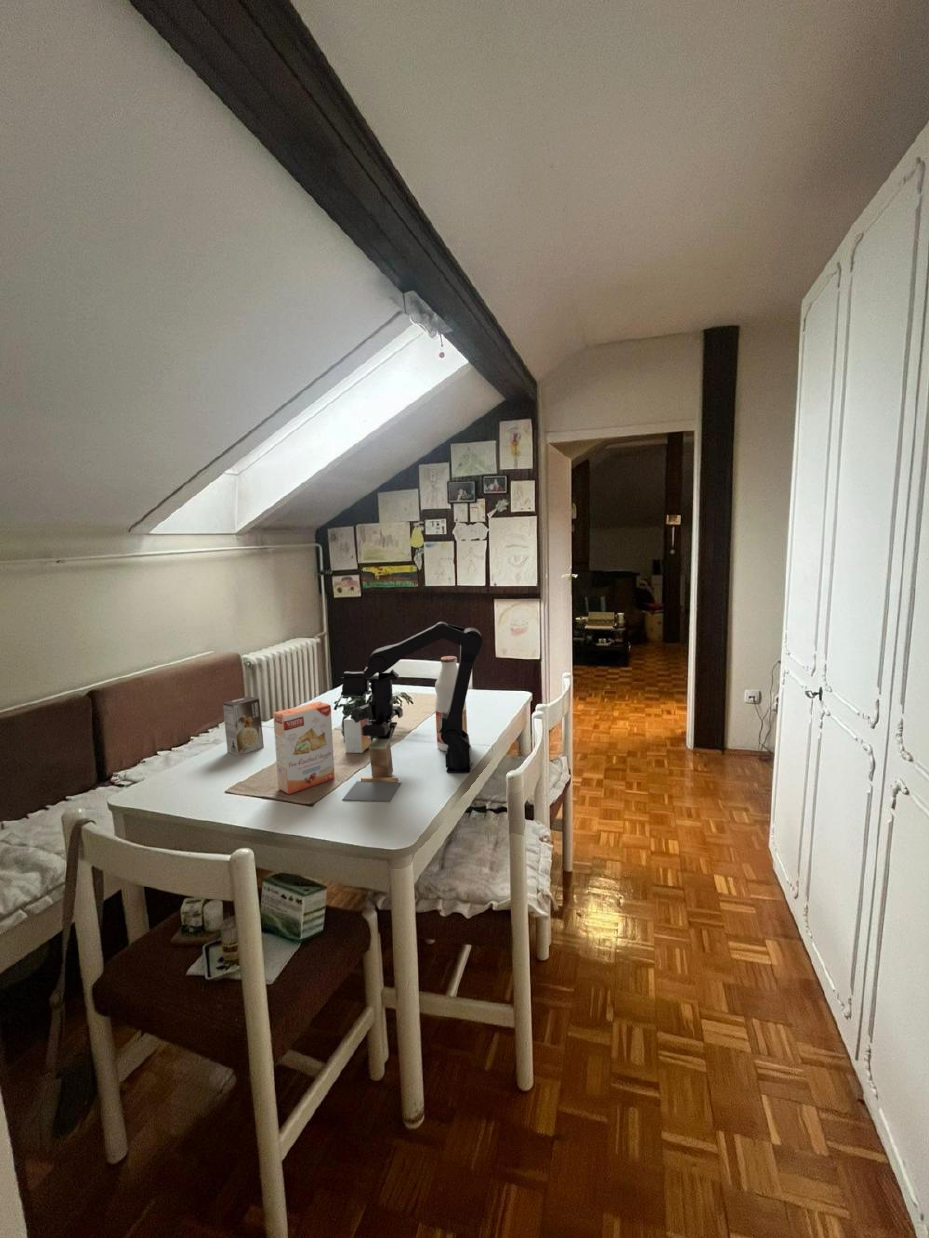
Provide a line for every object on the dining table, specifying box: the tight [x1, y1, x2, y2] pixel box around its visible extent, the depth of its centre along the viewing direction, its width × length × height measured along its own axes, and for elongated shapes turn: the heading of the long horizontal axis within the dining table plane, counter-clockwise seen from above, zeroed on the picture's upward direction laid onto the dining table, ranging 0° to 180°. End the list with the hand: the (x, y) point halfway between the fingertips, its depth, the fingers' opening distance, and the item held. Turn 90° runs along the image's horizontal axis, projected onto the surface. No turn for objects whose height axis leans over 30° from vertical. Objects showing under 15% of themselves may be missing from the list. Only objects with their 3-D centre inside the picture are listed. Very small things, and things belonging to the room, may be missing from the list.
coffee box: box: [222, 695, 265, 757], centre depth 182 cm, size 9×6×16 cm
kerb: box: [360, 776, 399, 782], centre depth 155 cm, size 10×1×1 cm, turn 81°
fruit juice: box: [434, 655, 468, 752], centre depth 178 cm, size 9×9×28 cm
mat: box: [341, 780, 402, 803], centre depth 149 cm, size 12×11×1 cm
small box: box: [343, 714, 372, 754], centre depth 180 cm, size 8×6×10 cm
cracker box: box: [272, 701, 335, 795], centre depth 154 cm, size 14×6×21 cm, turn 136°
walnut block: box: [368, 737, 394, 778], centre depth 157 cm, size 4×4×10 cm
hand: (384, 750), depth 161 cm, fingers closed
